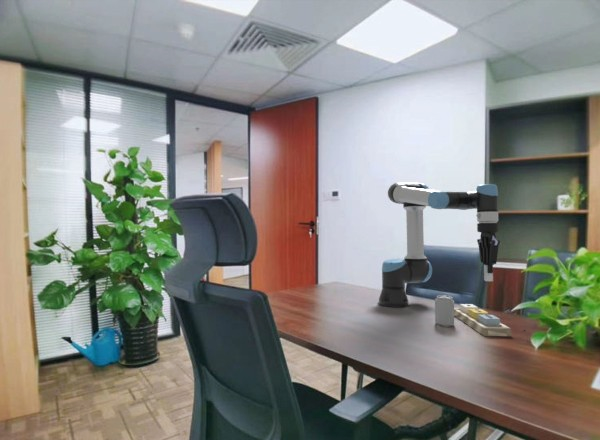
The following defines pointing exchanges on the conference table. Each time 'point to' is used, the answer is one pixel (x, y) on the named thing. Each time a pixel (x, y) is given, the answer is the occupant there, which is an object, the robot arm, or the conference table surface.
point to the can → (444, 310)
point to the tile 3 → (488, 320)
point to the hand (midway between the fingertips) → (488, 280)
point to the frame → (482, 329)
